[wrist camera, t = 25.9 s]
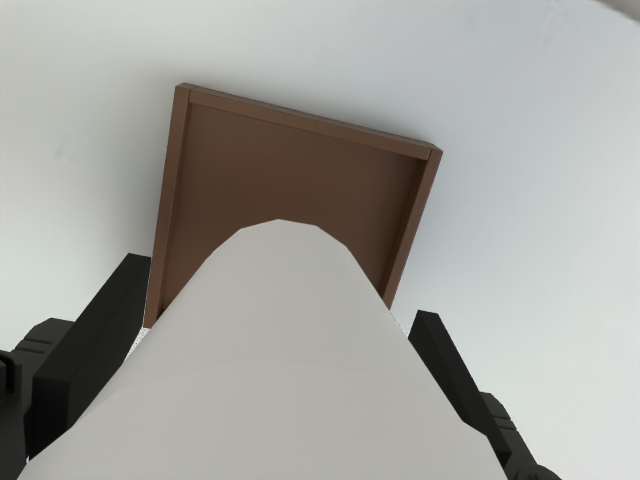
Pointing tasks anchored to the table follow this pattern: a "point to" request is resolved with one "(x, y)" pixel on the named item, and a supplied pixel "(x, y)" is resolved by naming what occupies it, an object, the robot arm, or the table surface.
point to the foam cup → (272, 381)
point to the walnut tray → (283, 186)
